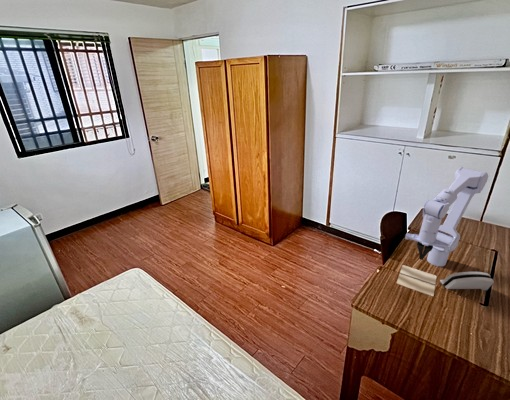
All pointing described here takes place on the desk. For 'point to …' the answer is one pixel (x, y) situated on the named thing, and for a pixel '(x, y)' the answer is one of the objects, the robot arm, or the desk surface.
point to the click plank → (416, 285)
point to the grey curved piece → (468, 281)
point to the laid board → (418, 275)
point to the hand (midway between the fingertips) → (421, 258)
